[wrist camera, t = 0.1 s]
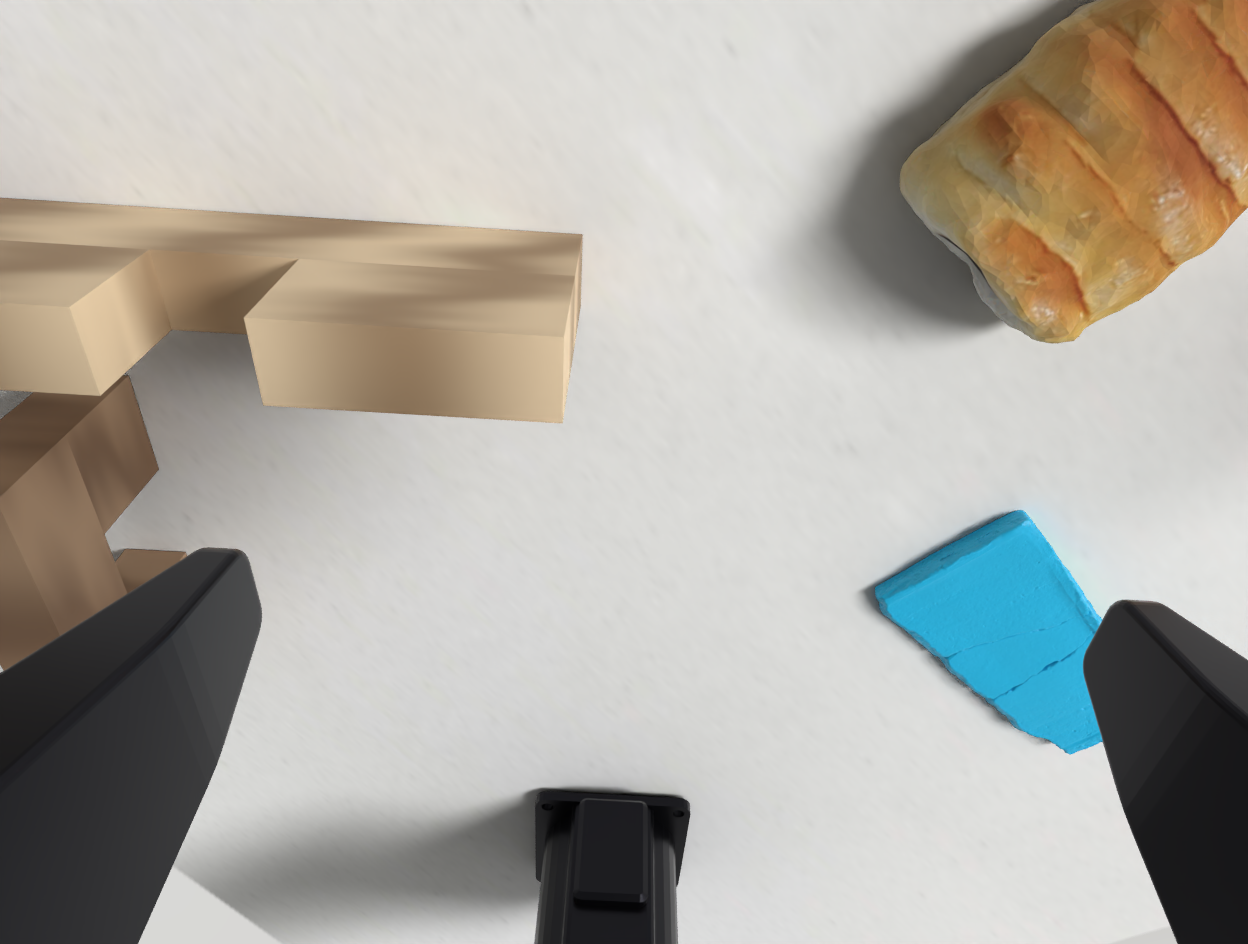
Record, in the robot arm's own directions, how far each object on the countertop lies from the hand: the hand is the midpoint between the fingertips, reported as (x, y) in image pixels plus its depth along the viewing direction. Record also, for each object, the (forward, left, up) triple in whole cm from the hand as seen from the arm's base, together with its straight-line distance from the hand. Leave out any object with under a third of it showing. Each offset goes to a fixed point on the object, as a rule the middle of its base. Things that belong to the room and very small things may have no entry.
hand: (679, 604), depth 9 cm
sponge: (-15, -14, -15) cm, 26 cm away
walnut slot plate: (-11, +16, -15) cm, 24 cm away
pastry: (+2, -10, -15) cm, 18 cm away
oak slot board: (-2, +10, -15) cm, 18 cm away
